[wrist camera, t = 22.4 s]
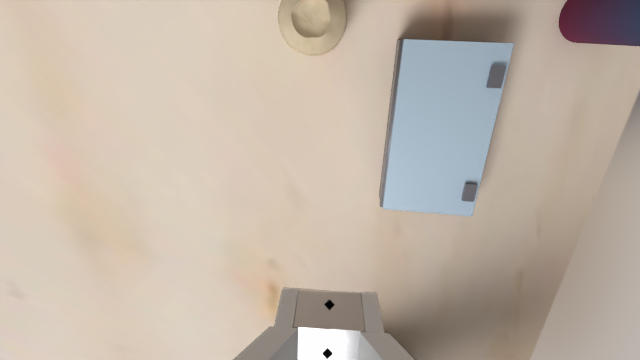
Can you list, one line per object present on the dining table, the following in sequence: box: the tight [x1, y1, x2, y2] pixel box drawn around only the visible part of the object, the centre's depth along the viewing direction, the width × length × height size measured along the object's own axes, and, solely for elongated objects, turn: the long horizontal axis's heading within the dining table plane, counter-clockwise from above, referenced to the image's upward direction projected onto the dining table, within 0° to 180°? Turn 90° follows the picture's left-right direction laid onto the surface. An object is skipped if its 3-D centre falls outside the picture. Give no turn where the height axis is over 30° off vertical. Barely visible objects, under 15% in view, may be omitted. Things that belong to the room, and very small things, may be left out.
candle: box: [278, 0, 347, 56], centre depth 29 cm, size 6×6×10 cm
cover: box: [380, 39, 514, 216], centre depth 34 cm, size 18×10×2 cm, turn 178°
